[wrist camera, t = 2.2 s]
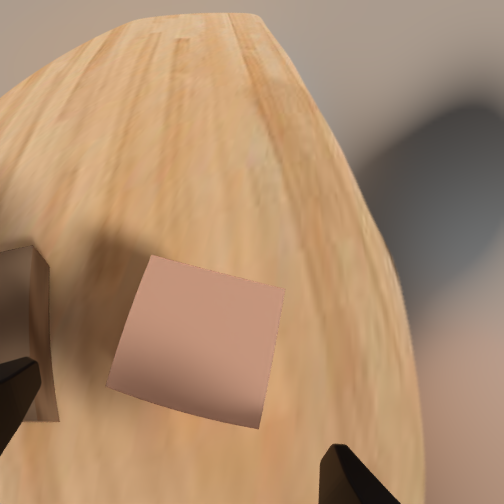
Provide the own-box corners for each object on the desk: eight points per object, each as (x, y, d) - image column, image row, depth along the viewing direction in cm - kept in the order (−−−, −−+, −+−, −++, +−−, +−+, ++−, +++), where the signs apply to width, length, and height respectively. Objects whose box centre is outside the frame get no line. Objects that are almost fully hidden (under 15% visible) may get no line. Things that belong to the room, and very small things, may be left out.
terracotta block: (232, 422, 16) (258, 428, 8) (150, 400, 16) (105, 386, 8) (249, 345, 19) (285, 288, 11) (172, 325, 19) (151, 254, 11)
